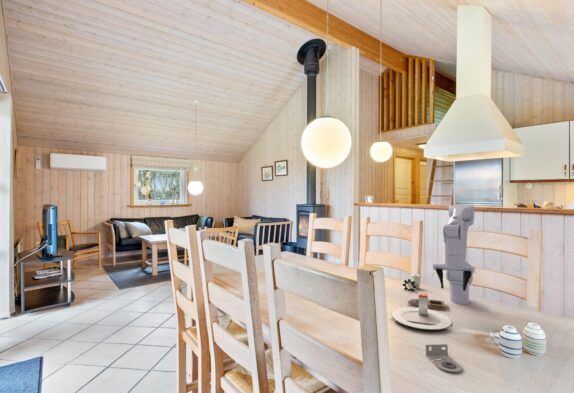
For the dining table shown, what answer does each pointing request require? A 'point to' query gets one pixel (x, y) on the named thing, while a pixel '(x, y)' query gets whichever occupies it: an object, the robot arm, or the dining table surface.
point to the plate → (443, 324)
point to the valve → (412, 283)
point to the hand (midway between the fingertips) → (453, 288)
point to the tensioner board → (430, 304)
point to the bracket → (443, 363)
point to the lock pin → (423, 303)
